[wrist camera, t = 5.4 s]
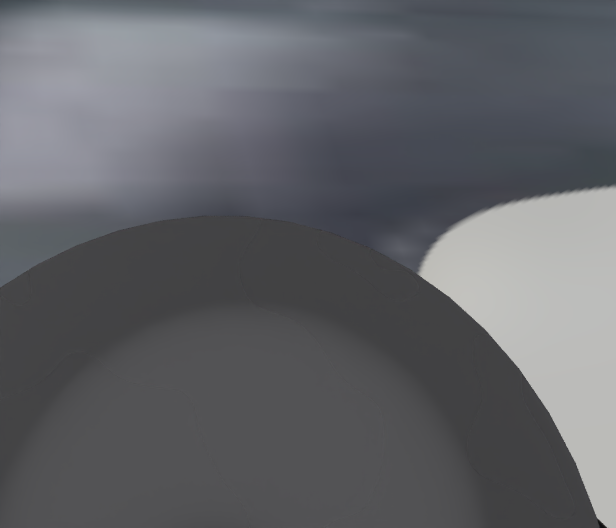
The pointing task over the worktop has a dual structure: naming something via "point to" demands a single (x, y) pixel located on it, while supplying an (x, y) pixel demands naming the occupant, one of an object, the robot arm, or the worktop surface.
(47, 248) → the worktop surface
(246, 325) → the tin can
